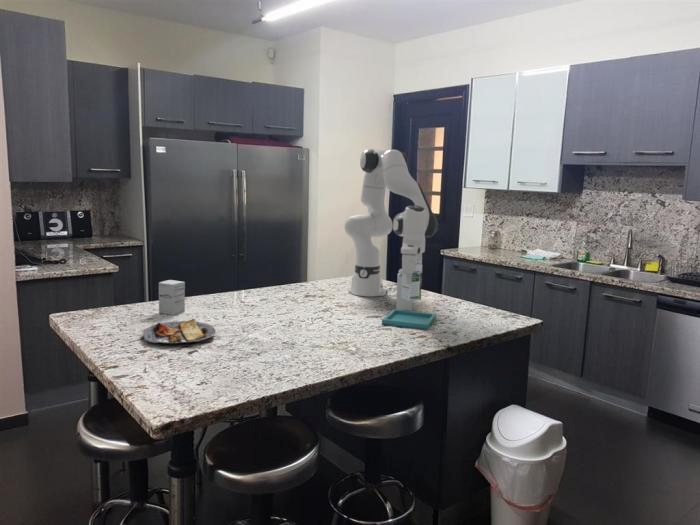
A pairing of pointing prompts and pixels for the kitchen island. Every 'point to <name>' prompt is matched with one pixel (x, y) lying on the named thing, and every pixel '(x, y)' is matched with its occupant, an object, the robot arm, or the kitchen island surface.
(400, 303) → the milk carton
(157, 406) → the kitchen island surface
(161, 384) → the kitchen island surface
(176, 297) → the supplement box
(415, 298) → the syrup box
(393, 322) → the tray
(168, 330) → the food plate
